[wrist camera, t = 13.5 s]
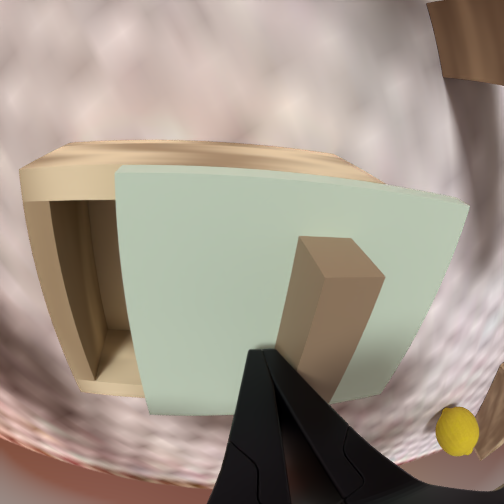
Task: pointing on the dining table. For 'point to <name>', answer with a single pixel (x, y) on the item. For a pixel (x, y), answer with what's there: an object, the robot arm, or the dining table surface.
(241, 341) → the lid
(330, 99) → the dining table surface
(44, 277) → the open wooden box
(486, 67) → the tan rectangular bar
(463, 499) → the robot arm
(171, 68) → the dining table surface
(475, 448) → the bread crate
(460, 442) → the lemon
